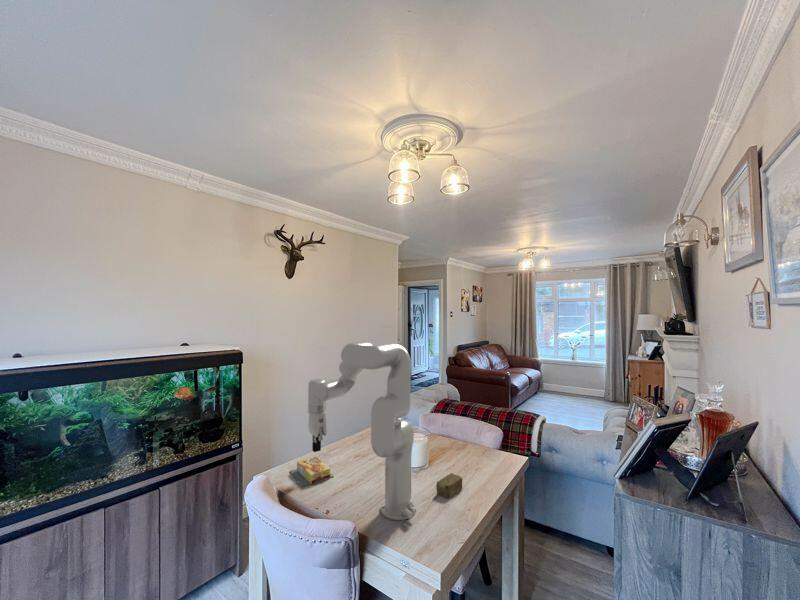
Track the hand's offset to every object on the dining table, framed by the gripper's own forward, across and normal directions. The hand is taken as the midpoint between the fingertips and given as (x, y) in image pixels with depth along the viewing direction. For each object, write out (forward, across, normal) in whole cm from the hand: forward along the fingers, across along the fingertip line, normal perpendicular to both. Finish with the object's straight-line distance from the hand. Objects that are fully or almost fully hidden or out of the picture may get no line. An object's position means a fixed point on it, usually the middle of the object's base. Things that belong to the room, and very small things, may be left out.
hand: (316, 450), depth 145 cm
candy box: (+9, -6, 0) cm, 10 cm away
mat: (+11, +4, +1) cm, 12 cm away
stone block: (+12, -42, -39) cm, 59 cm away
